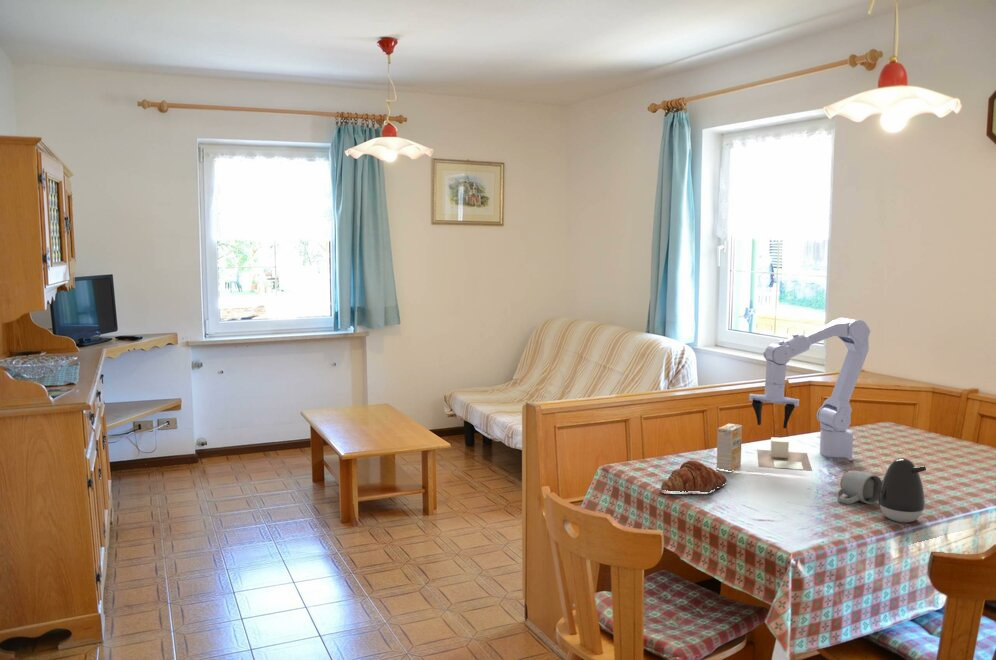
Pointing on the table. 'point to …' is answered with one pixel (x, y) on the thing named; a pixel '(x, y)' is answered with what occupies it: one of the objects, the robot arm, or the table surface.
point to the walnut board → (784, 461)
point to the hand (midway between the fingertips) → (772, 426)
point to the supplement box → (729, 446)
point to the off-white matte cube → (779, 447)
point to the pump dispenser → (902, 491)
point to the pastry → (694, 478)
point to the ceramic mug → (859, 487)
